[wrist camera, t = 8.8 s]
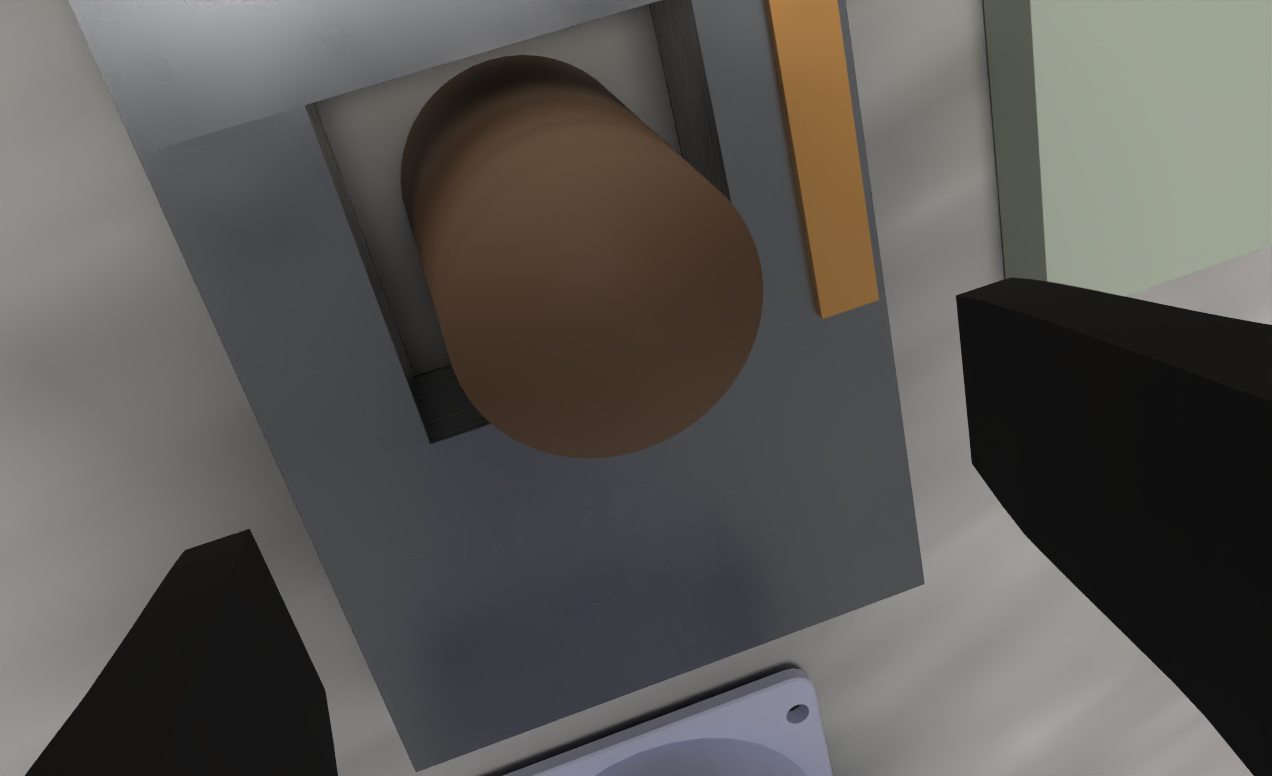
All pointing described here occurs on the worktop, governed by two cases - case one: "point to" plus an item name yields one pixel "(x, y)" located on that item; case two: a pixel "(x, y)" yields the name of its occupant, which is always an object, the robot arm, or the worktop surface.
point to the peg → (575, 261)
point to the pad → (1130, 137)
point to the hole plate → (453, 427)
